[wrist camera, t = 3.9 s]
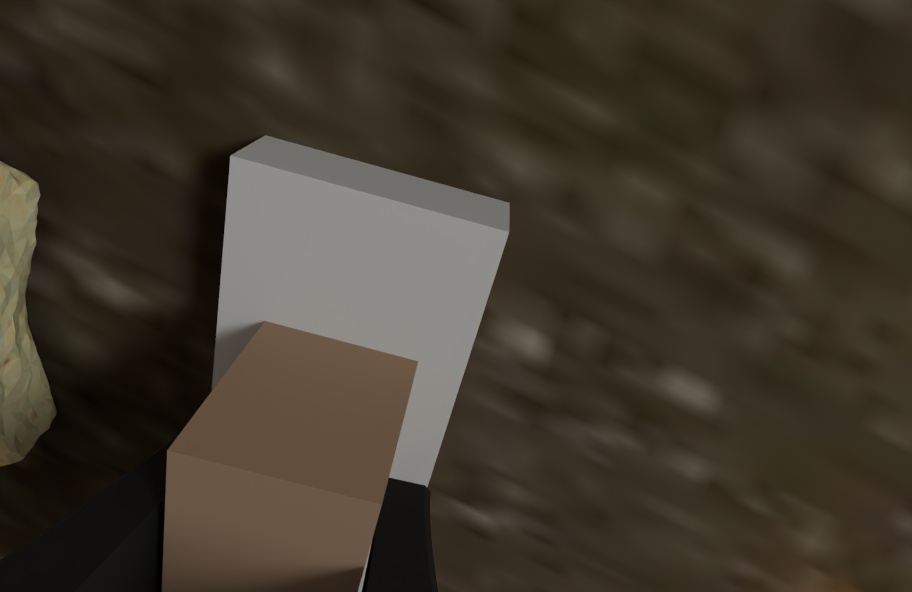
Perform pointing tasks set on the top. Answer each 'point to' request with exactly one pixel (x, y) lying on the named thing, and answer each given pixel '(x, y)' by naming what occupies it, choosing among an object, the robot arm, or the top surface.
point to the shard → (19, 323)
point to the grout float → (323, 366)
